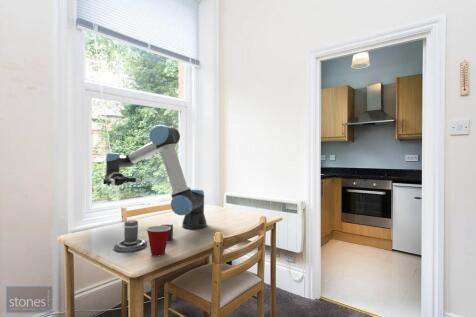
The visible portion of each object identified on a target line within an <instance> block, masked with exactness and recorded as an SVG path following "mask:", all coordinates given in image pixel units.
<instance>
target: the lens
mask: <svg viewBox="0 0 476 317" xmlns="http://www.w3.org/2000/svg"><path fill="white" fill-rule="evenodd" d="M123 227H124V232H123V233H124V237H123V238H124V239H123V240H124V246H134V245H137V244H138V239H139V237H138V236H139V230H138V228H139V221H138V220H135V219H133V220H127V221H124V226H123Z"/></svg>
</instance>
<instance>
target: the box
mask: <svg viewBox="0 0 476 317" xmlns="http://www.w3.org/2000/svg"><path fill="white" fill-rule="evenodd" d="M160 226H168V227H171V229H170V231H169V234H168V239H167V242H169V241H170V242H172V240H173V238H174V224H161V225H160Z"/></svg>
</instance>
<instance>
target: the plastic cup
mask: <svg viewBox="0 0 476 317" xmlns="http://www.w3.org/2000/svg"><path fill="white" fill-rule="evenodd" d="M145 229H146V232H147V236H148V241H149V242H148V243H149V248H150V253H151V256H153V257H159V255H160V256H163V255H165V254H164V253H165V252H166V247H167V244H168V241H167V239H168V234H169V231H170V229H171V227H168V226H161V225H151V226H148V227H146V228H145Z"/></svg>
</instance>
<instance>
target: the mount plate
mask: <svg viewBox="0 0 476 317" xmlns="http://www.w3.org/2000/svg"><path fill="white" fill-rule="evenodd" d="M147 247H148V241H147V240H144V239H142V238H138V244H137V245H134V246H124V239H123V240H120V241H119V242H117V243H115V244H114V245H113V250H114V251H115V252H117V253H134V252H139V251H142V250H144V249H146V248H147Z"/></svg>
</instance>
